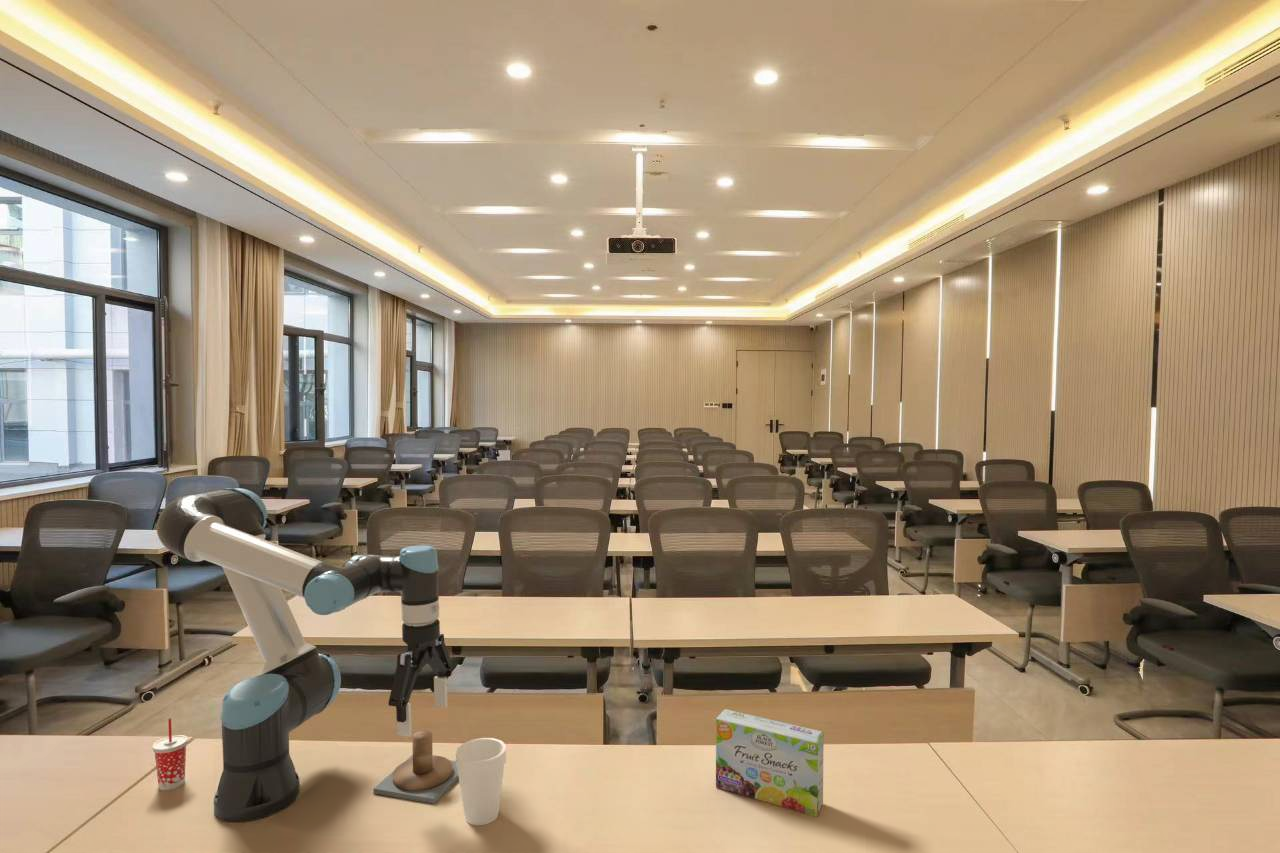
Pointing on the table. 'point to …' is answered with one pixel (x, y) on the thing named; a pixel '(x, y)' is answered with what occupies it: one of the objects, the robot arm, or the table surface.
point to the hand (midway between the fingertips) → (423, 720)
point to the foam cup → (481, 778)
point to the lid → (422, 766)
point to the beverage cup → (170, 760)
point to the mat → (424, 796)
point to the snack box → (770, 761)
